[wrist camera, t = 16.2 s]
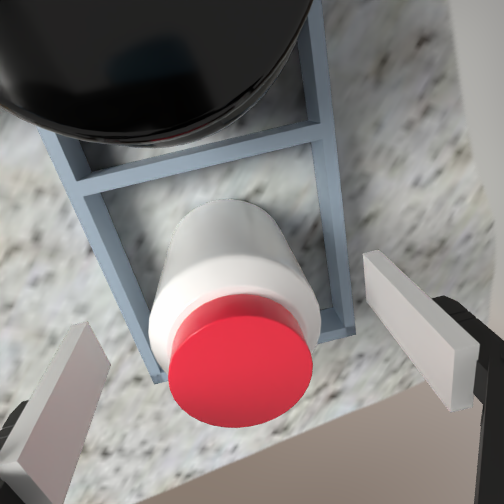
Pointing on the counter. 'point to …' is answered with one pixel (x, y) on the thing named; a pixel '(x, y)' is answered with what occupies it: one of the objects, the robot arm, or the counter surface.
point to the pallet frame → (313, 130)
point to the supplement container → (142, 65)
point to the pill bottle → (233, 317)
